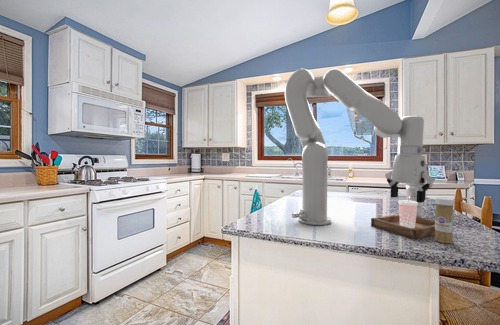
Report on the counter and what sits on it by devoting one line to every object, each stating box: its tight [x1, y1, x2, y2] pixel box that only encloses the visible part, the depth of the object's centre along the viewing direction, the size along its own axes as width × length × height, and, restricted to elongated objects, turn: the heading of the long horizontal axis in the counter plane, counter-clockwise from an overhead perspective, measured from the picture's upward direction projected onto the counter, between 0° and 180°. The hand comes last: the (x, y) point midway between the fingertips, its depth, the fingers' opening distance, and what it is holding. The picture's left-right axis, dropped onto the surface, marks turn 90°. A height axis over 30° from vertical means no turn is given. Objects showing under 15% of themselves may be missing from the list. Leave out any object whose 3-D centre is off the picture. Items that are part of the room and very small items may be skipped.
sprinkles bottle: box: [433, 196, 455, 244], centre depth 78 cm, size 5×5×13 cm
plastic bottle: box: [404, 183, 424, 218], centre depth 106 cm, size 6×7×20 cm
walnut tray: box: [370, 213, 435, 241], centre depth 90 cm, size 18×16×3 cm
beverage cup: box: [397, 187, 418, 228], centre depth 90 cm, size 6×6×14 cm
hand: (406, 199), depth 90 cm, fingers open, 9 cm apart
